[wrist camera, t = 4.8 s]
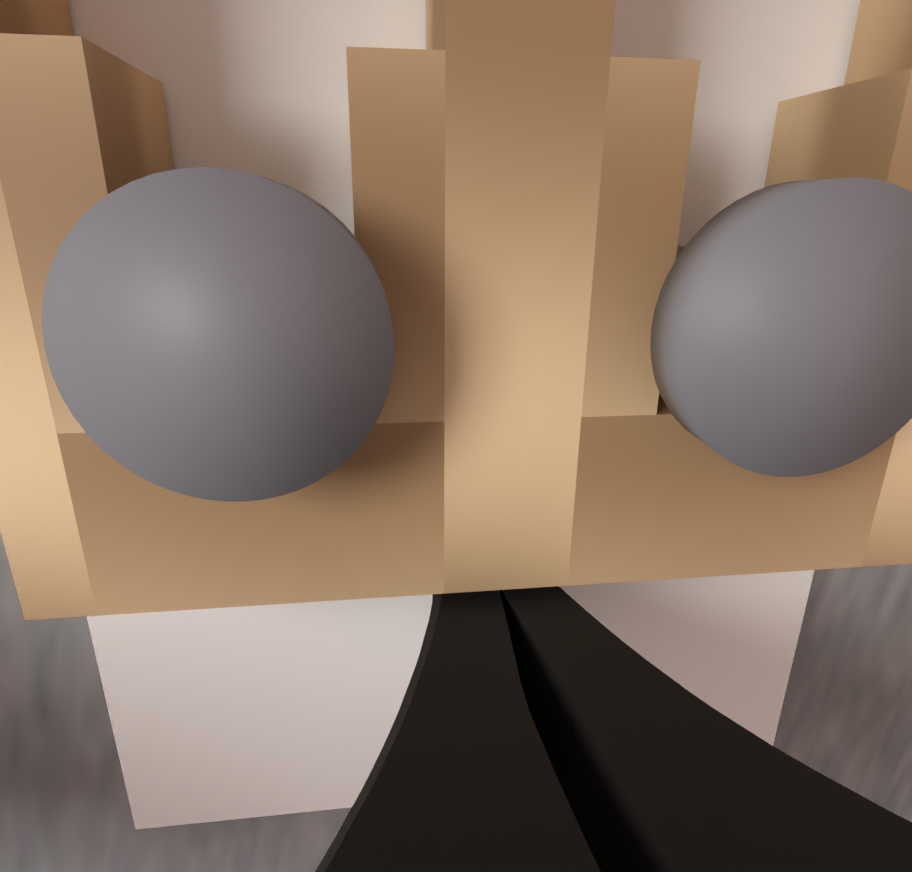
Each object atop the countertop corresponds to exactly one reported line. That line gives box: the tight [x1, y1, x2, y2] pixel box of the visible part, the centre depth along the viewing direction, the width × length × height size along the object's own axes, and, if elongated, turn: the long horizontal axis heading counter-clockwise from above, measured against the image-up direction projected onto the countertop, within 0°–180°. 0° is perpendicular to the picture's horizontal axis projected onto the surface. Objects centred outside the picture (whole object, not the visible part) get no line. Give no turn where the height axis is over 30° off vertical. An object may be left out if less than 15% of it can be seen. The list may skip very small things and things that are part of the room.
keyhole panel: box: [0, 0, 912, 620], centre depth 6 cm, size 10×10×2 cm
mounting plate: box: [42, 0, 912, 829], centre depth 7 cm, size 17×11×4 cm, turn 179°
